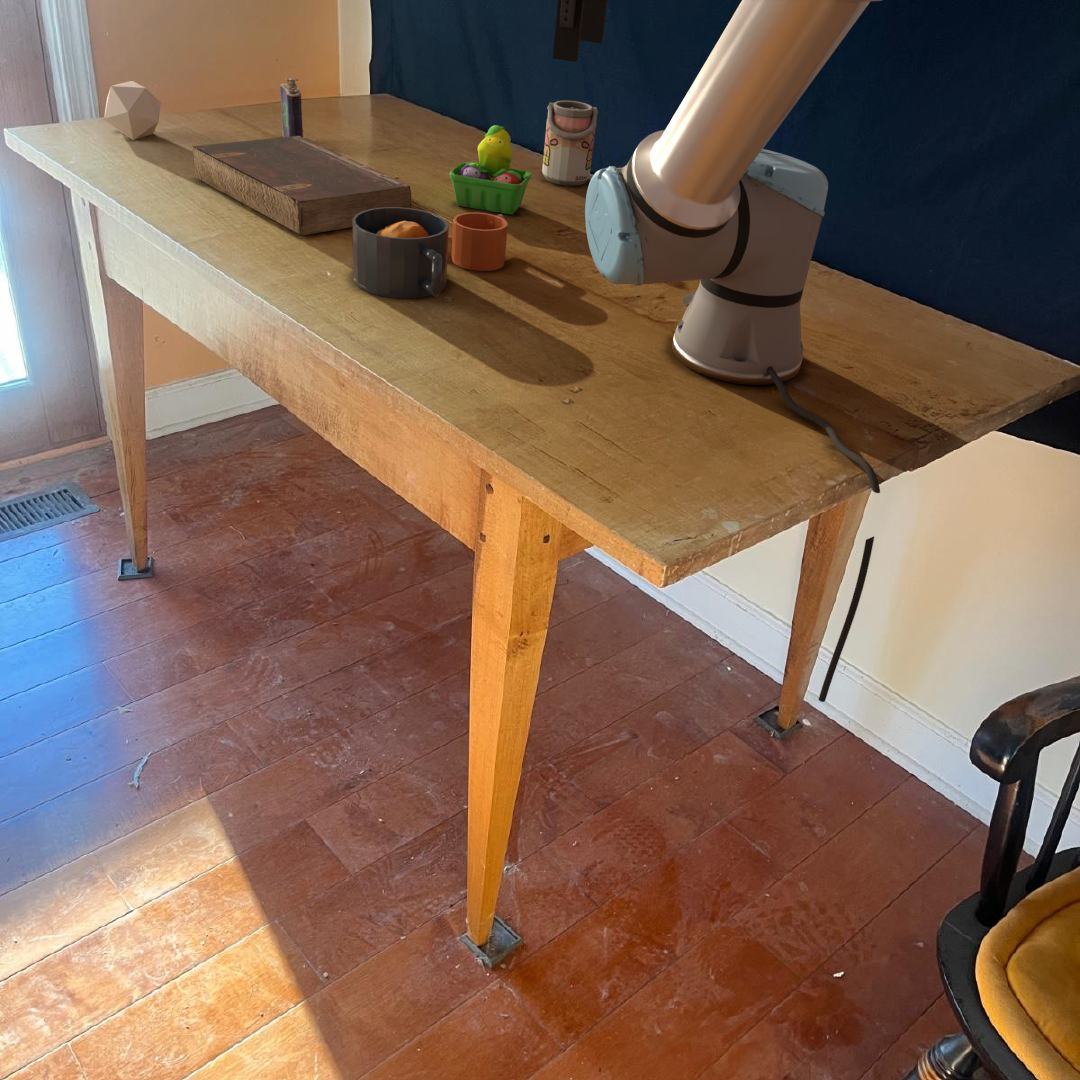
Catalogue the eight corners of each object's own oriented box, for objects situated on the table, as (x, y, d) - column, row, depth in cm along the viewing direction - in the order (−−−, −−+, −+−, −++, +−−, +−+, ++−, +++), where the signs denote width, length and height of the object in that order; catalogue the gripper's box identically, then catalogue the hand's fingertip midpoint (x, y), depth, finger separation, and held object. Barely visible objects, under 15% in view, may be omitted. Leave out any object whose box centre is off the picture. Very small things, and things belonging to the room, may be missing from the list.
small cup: (489, 275, 137) (492, 234, 133) (442, 262, 139) (443, 222, 136) (522, 253, 144) (525, 214, 141) (476, 242, 147) (479, 203, 143)
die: (172, 144, 173) (171, 86, 174) (131, 124, 165) (130, 63, 166) (135, 154, 177) (133, 97, 177) (92, 135, 169) (91, 75, 169)
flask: (280, 137, 181) (278, 71, 175) (297, 137, 182) (295, 72, 176) (289, 152, 174) (287, 84, 168) (307, 152, 175) (305, 85, 169)
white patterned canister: (590, 191, 172) (599, 115, 165) (540, 185, 172) (547, 110, 165) (589, 175, 180) (598, 102, 173) (541, 170, 179) (548, 97, 172)
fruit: (436, 283, 127) (405, 223, 124) (383, 305, 130) (351, 247, 127) (453, 261, 134) (424, 204, 130) (402, 283, 137) (372, 227, 133)
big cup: (336, 270, 133) (335, 212, 129) (417, 258, 139) (418, 203, 135) (394, 315, 123) (395, 254, 119) (478, 300, 129) (482, 241, 125)
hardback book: (410, 217, 153) (411, 182, 150) (301, 238, 141) (300, 201, 138) (301, 164, 169) (300, 133, 166) (195, 179, 157) (192, 146, 155)
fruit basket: (446, 206, 158) (449, 130, 152) (463, 191, 165) (467, 117, 159) (517, 219, 157) (524, 142, 150) (531, 203, 164) (538, 129, 157)
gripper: (592, -175, 117) (571, 30, 129) (537, -181, 97) (518, 63, 109) (657, -168, 116) (630, 39, 128) (614, -172, 96) (587, 73, 108)
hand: (578, 50), depth 118 cm, fingers open, 13 cm apart
